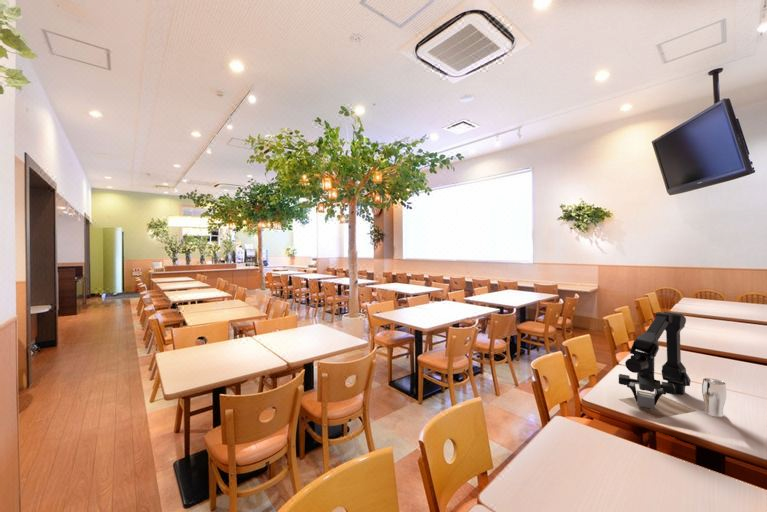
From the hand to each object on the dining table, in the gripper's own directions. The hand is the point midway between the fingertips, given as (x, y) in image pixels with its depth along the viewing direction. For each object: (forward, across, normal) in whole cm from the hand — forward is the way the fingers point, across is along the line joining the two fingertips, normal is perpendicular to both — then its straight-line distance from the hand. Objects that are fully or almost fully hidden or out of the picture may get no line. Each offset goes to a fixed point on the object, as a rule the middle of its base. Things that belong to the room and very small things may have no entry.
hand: (645, 403), depth 137 cm
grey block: (+1, 0, 0) cm, 1 cm away
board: (+3, +4, +4) cm, 7 cm away
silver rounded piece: (+2, 0, 0) cm, 2 cm away
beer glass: (+3, +22, +8) cm, 24 cm away
